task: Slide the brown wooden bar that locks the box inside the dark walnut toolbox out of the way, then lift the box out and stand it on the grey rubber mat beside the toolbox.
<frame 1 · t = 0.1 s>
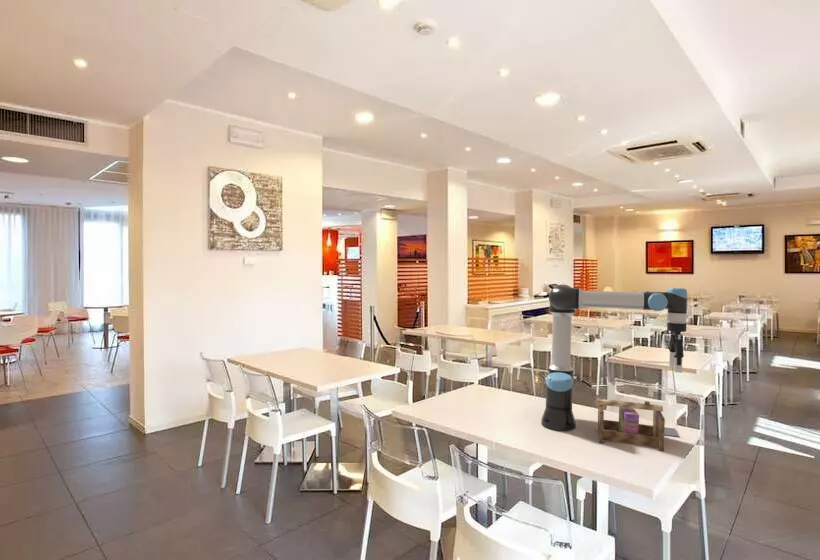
hand: (675, 369, 211), 28 cm above the table, fingers open, 13 cm apart
mat: (664, 431, 211), on the table
brown wooden bar: (629, 403, 202), point 15 cm above the table, slide at 0.0 cm
toolbox: (628, 437, 203), on the table
box: (628, 437, 203), resting in toolbox
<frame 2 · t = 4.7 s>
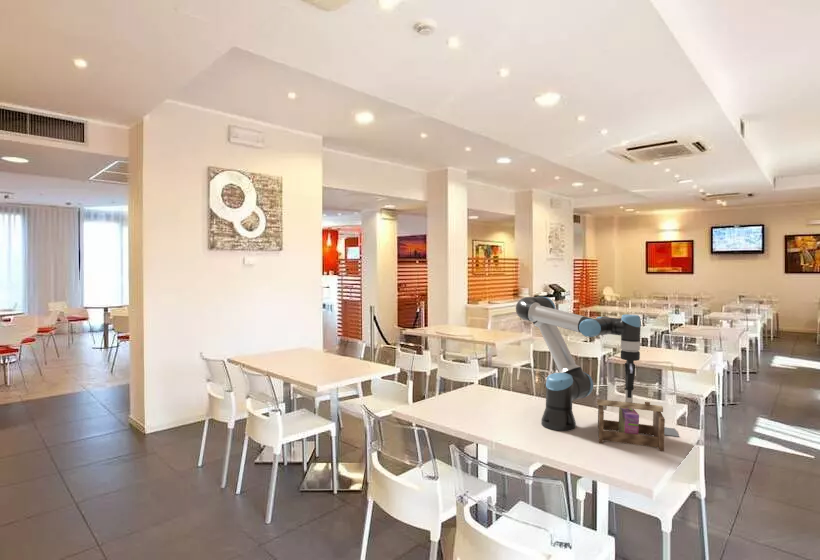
hand: (628, 404, 204), 14 cm above the table, fingers closed
brown wooden bar: (629, 403, 202), point 15 cm above the table, slide at 0.7 cm, touching gripper
everything else where it was.
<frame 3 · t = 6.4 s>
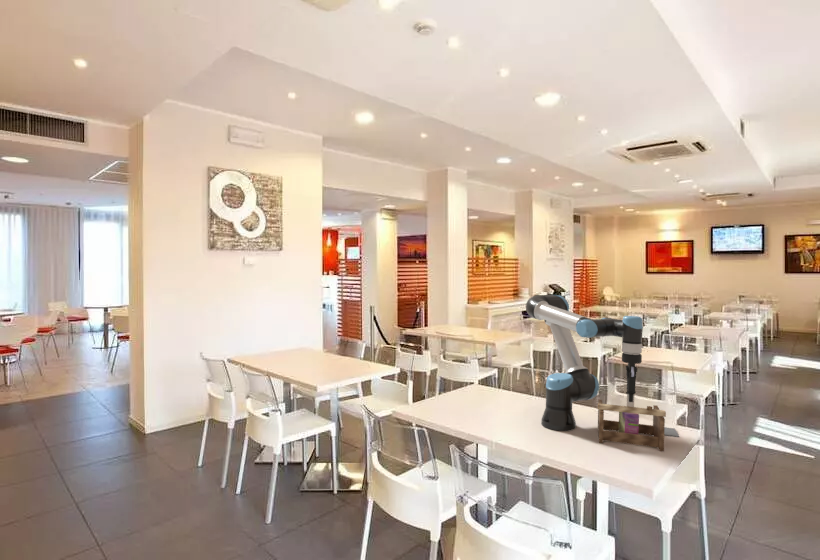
hand: (630, 408, 197), 14 cm above the table, fingers closed
brown wooden bar: (630, 408, 195), point 15 cm above the table, slide at 7.7 cm, touching gripper
everything else where it was.
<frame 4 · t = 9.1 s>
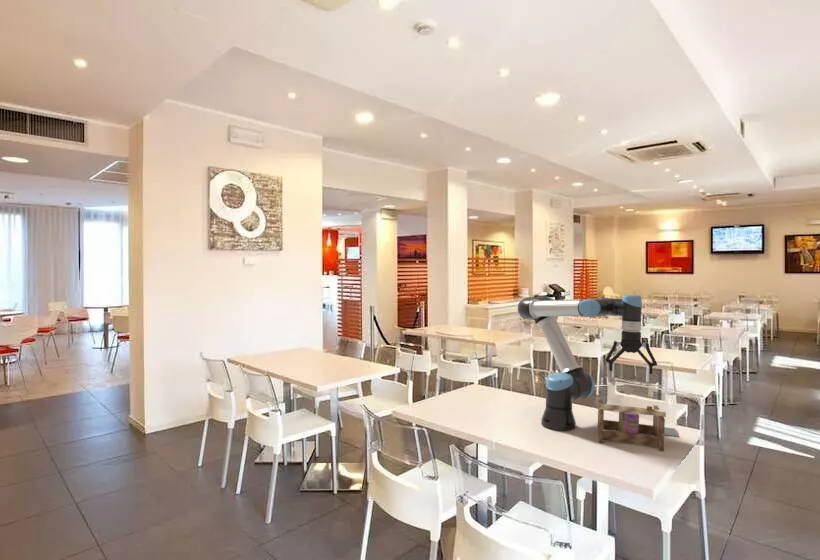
hand: (630, 380, 202), 25 cm above the table, fingers open, 13 cm apart
brown wooden bar: (630, 408, 195), point 15 cm above the table, slide at 7.7 cm
everything else where it was.
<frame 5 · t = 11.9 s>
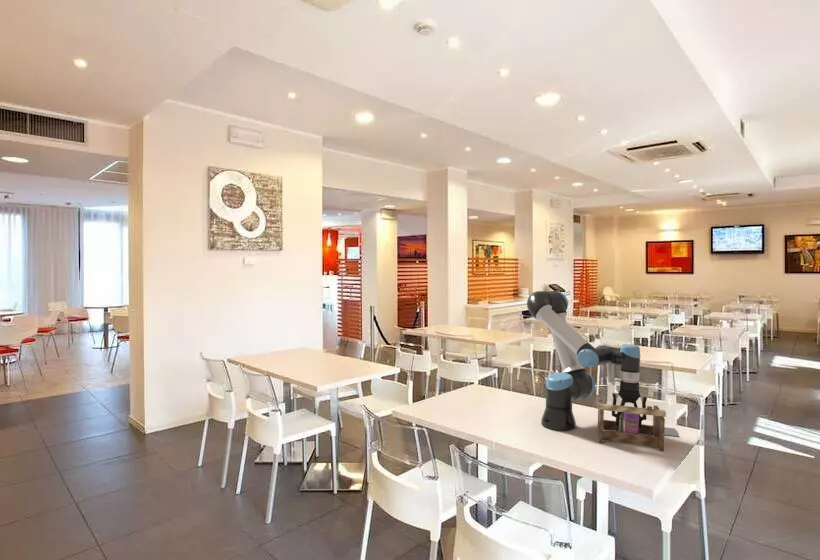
hand: (628, 434, 203), 1 cm above the table, fingers closed on box, 6 cm apart
box: (628, 437, 203), resting in toolbox, touching gripper
everything else where it was.
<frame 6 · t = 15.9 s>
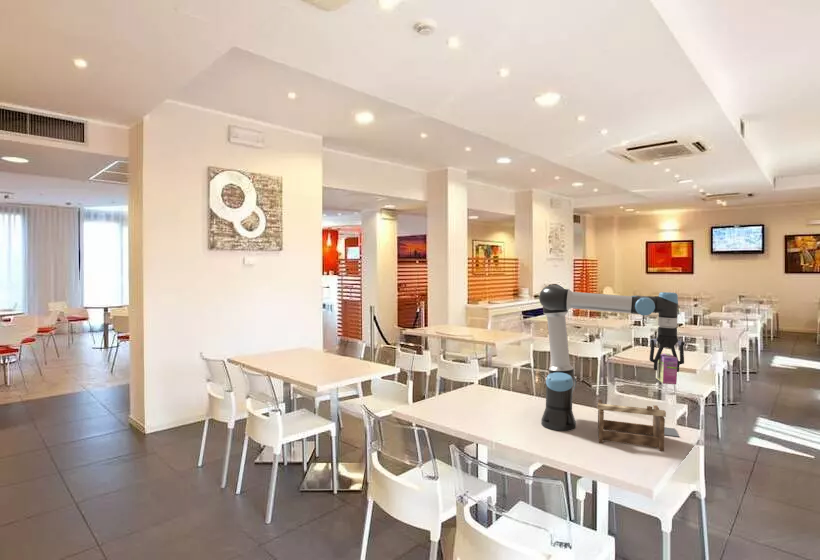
hand: (666, 378, 210), 24 cm above the table, fingers closed on box, 6 cm apart
box: (666, 381, 210), point 23 cm above the table, touching gripper
everything else where it was.
when the fingers open (3 cm above the table, at t = 20.0 s): box drops 1 cm, resting on mat.
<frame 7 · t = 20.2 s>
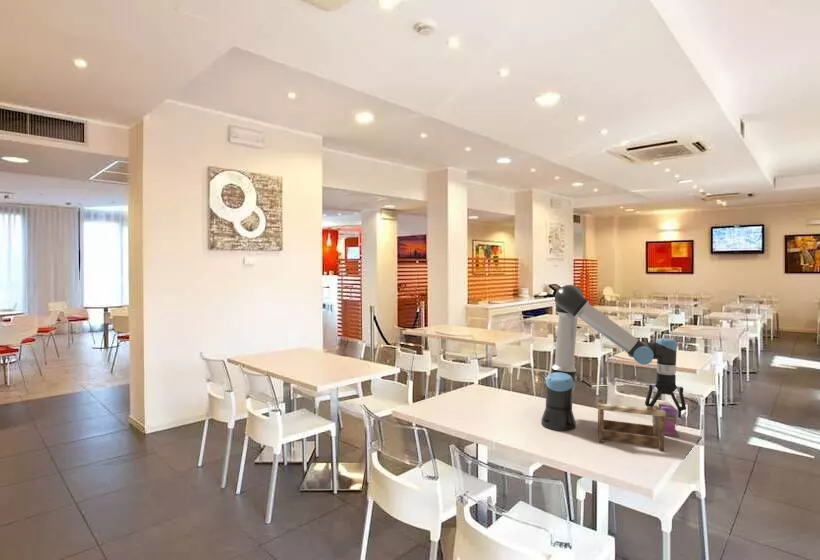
hand: (664, 423, 211), 4 cm above the table, fingers open, 9 cm apart
box: (664, 431, 211), resting on mat
everything else where it was.
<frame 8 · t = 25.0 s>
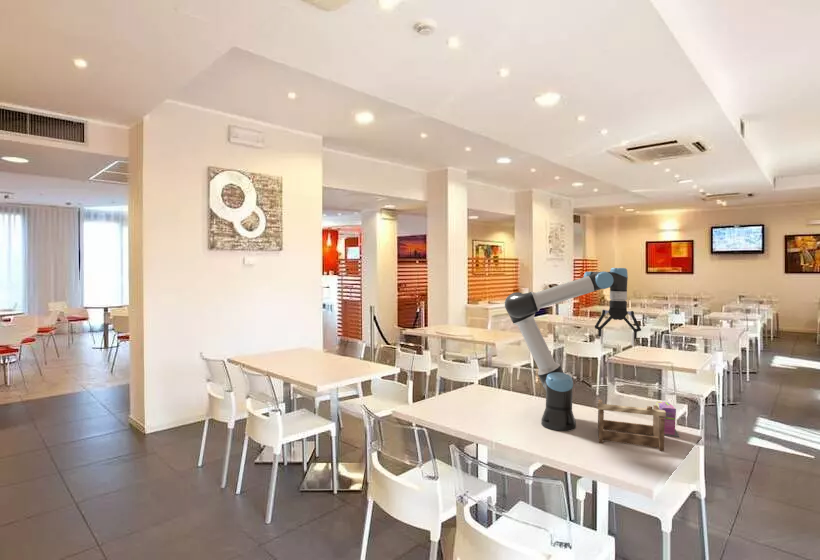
hand: (617, 344, 224), 37 cm above the table, fingers open, 13 cm apart
nothing on the table moved.
at the end: brown wooden bar slide at 7.7 cm; box inside the target area on the mat (0.2 cm from its centre), point 0.2 cm above the mat's base; box tilted 0° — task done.
